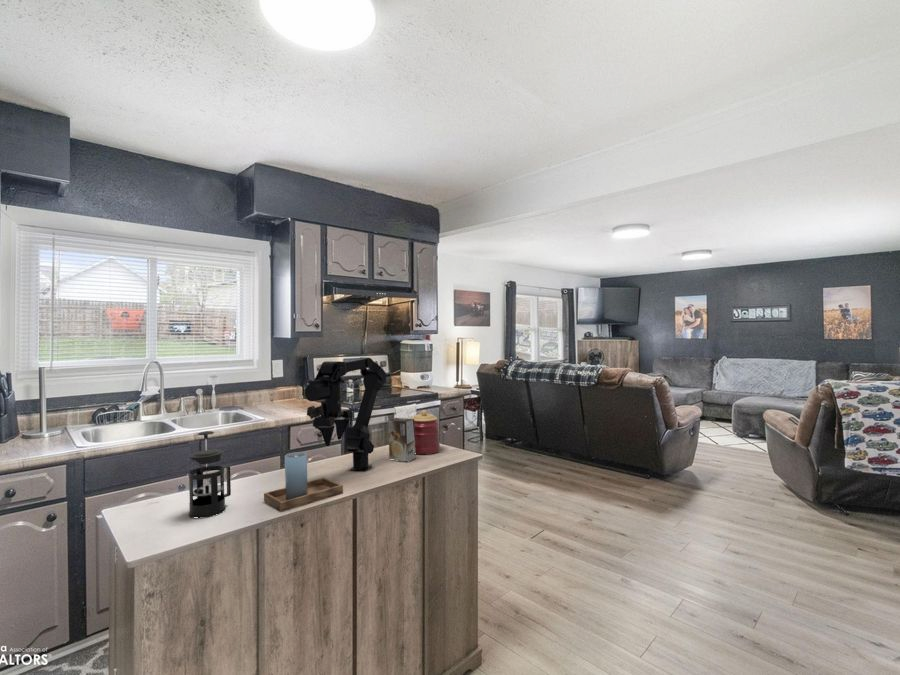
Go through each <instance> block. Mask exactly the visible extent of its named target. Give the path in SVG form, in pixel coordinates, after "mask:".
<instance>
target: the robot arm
mask: <svg viewBox="0 0 900 675" xmlns="http://www.w3.org/2000/svg"><path fill="white" fill-rule="evenodd" d="M359 370H360V371H359ZM353 371H359V372H360V375H361V376H362V377H363V378H362V380H363V381H362V383H363V386H364V391H363V395H362V398H361V401H360V404H359V409H358V411H357V415H356V420H355V422H354V424H353V426H349V427H347V426H348V424H349V422H350V421H351V418H352V417H353V415H352V414H353V413H352V411H351V409H347V408H345V409H344V408H342V404H343V403H344V399H342V384H345V383H346V381H345V380H344V379H343V378H342V377H344V376H346V375H347V374H348V373H351V372H353ZM386 381H387V373H386V371H385V370H384V368H383V366H381V365H380V364H378V363H376V362H374V360H373V359H372V358H371V357H359V358H355V359H350V360H345V361H336V360H335V361H330V360H329V361H327V360H326V361H323V362H322V363H321V366H320V368H319V370H318V372H317V374H316V376H315V378H314V380H309V383H308V384H307V385H306V386H305V390H304V396H305V398H306V400H307V401H309V402H317V401H321V400H323V401H321V402H320V405H319V406H317V407H315V405H312V406H309V407H307V408H306V410H307V411H306V416H308V417H309V418H310V420H312V419H313V420H312V427H313V428H315V429H317V430H318V431H319V432H320V433H321V436H322V438H323V441H324V444H325V446H326V447H329V446H330V445H331V441H332V438H333V434H334V431H336V436H337V440H339V441H340V440H342V437H343V436H344V433H345V431H346V434H345V436H344V438H345V439H344V444H345V447H346V450H347V453H351V454H352V467H350V468H349V471H356V472H359V471H360V472H361V471H362V472H363V471H364V472H366V471H367V470H369V469H370V468H371V467H373V466H372V464H369V454H372V453H374V449H375V445H374V444H373V443H372V442H371V441H370V437H371V436H370V430H369V424H370V420H371V416H372V414H373V409H374V405H375V402H376V398H377V395H378V392H379V391H380V390H381V388H383V387H384V384H385V382H386Z"/></svg>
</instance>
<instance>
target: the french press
mask: <svg viewBox="0 0 900 675" xmlns="http://www.w3.org/2000/svg"><path fill="white" fill-rule="evenodd" d="M214 433H215V432H214V431H211V430H210V431H209V430H207V431H201V432H198V433H197V435H198V436H203V439H204V440H205V442H204V445H205V449H204V450H198V451H195V452H192V453H189V454H188V455H187V456H188V458H189V460H190V461H191V462H194V461H195V462H197V463H198V464H199V465H205V466H201V467H197V468H194V469H192V470H190V471H189V472H188V481H189V482H188V483H189V484H188V485H189V486H188V487H189V490H188V491H189V503H188V504H189V505H188V506H189V512H188V516H189V517H190V516H191V517H198V518H197V519H201V518H200V517H206V518H210V516H211V517H214V516H213V515H215V516H217V515H216V514H218V515H220V514H222V513H224V512H225V511H226V510H225V509H227V507H226V499H225V498H227V497H230V496H232V495H231V494H232V489H231V466H230V465H208V464H213V463H217V462H221V461H222V460H223V454H224V452H225V450H224V449H217V448H216V449H208V443H207V442H208V438H209V435H212V434H214ZM225 469H226V474H225ZM209 471H215V472H211V473H208V472H209ZM204 472H205V474H204ZM225 475H226V493H225ZM219 476H220V477H219ZM218 477H219V478H220V482H219V483H220V484H218ZM209 479H210V484H208V483H209ZM194 480H195V481H196V488H194V484H193V482H194ZM204 480H206V481H205V483H206V485H204ZM219 493H220V494H219ZM194 497H195V499H194ZM224 510H225V511H224ZM223 511H224V512H223ZM221 512H222V513H221ZM219 513H220V514H219ZM191 517H190V518H191Z"/></svg>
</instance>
